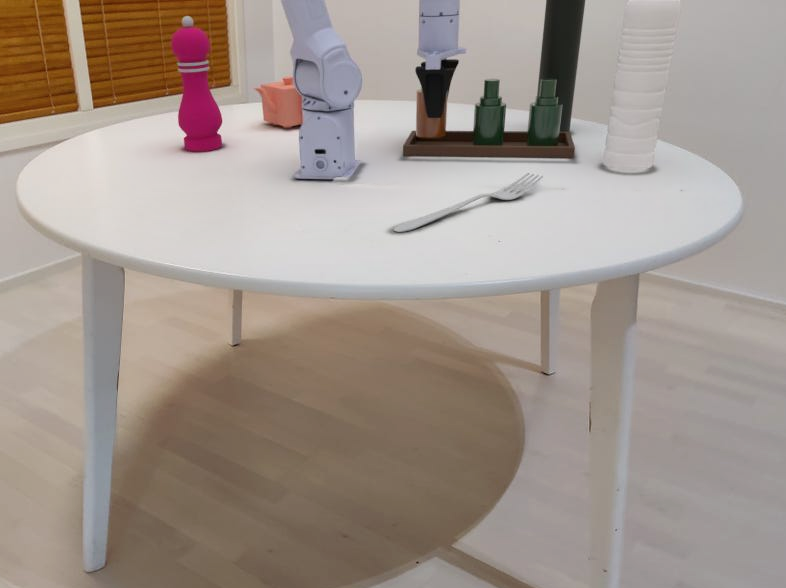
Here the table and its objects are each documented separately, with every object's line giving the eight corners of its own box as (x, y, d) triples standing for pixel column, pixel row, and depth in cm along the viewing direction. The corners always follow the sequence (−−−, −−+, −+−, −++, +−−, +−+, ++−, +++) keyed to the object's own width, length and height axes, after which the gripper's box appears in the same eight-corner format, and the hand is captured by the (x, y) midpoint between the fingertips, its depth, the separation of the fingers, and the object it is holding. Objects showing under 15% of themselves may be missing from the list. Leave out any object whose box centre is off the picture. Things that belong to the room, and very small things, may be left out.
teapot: (241, 125, 134) (236, 78, 130) (307, 114, 141) (305, 69, 137) (272, 135, 125) (268, 85, 121) (341, 122, 132) (340, 75, 128)
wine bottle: (564, 128, 121) (588, -78, 106) (573, 136, 116) (599, -79, 101) (530, 129, 121) (549, -76, 106) (537, 137, 116) (559, -78, 101)
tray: (573, 162, 101) (574, 147, 100) (403, 159, 107) (403, 145, 106) (568, 145, 110) (570, 131, 109) (411, 143, 116) (412, 130, 114)
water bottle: (631, 176, 94) (668, -39, 82) (591, 167, 99) (620, -38, 86) (671, 165, 98) (712, -42, 86) (631, 156, 103) (664, -41, 90)
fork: (385, 228, 80) (385, 213, 79) (524, 185, 92) (526, 171, 92) (405, 235, 78) (405, 219, 77) (545, 190, 90) (546, 176, 89)
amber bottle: (443, 138, 107) (445, 68, 102) (413, 137, 108) (414, 68, 103) (447, 132, 110) (450, 64, 106) (418, 131, 112) (420, 64, 107)
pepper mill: (229, 142, 122) (215, 13, 112) (219, 152, 116) (203, 16, 106) (188, 142, 123) (171, 15, 113) (176, 152, 116) (156, 18, 107)
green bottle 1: (502, 152, 106) (508, 82, 101) (471, 151, 107) (475, 82, 102) (503, 145, 110) (508, 77, 105) (473, 144, 111) (476, 77, 106)
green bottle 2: (558, 152, 104) (566, 81, 99) (526, 152, 105) (532, 81, 100) (556, 145, 108) (564, 76, 103) (525, 145, 109) (531, 77, 104)
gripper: (464, 18, 94) (459, 124, 100) (470, 10, 106) (465, 105, 113) (411, 19, 95) (410, 123, 102) (423, 11, 107) (421, 105, 114)
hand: (436, 114), depth 107 cm, fingers closed on amber bottle, 4 cm apart
